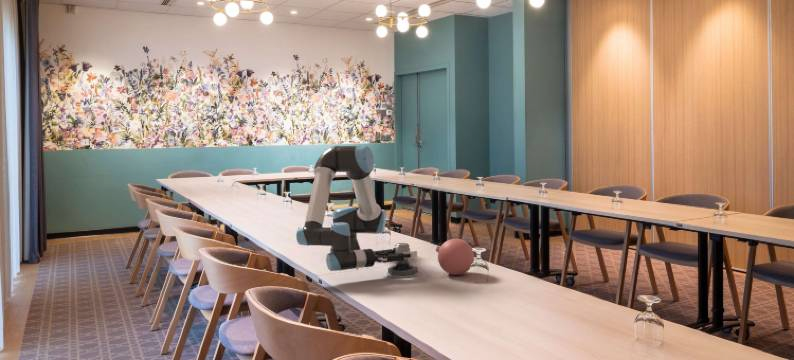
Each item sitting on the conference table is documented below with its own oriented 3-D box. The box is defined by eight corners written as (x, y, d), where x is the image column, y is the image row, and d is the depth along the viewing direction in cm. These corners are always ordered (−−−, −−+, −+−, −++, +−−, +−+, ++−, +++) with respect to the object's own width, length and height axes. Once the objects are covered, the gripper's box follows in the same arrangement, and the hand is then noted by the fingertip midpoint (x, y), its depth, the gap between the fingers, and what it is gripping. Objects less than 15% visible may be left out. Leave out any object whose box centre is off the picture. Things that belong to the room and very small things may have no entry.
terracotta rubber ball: (452, 266, 278) (452, 232, 276) (481, 275, 261) (481, 239, 260) (424, 271, 270) (424, 236, 268) (452, 281, 253) (452, 243, 251)
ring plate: (381, 271, 270) (381, 266, 270) (410, 268, 276) (410, 262, 275) (394, 279, 257) (394, 273, 257) (424, 275, 263) (424, 269, 263)
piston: (393, 269, 268) (393, 243, 267) (405, 267, 270) (405, 242, 269) (399, 272, 262) (398, 245, 261) (412, 270, 265) (411, 244, 264)
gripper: (355, 262, 267) (403, 257, 277) (372, 272, 250) (423, 265, 259) (355, 245, 266) (403, 240, 276) (371, 253, 249) (423, 248, 259)
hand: (413, 252), depth 268 cm, fingers closed on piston, 6 cm apart
